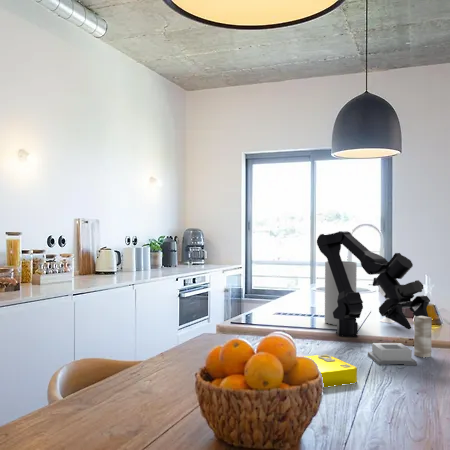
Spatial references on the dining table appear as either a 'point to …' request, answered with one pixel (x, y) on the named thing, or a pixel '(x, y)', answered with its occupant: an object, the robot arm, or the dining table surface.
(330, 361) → the element tile
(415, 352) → the beige cylinder
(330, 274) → the cylinder vase
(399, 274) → the robot arm
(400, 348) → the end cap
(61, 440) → the dining table surface
